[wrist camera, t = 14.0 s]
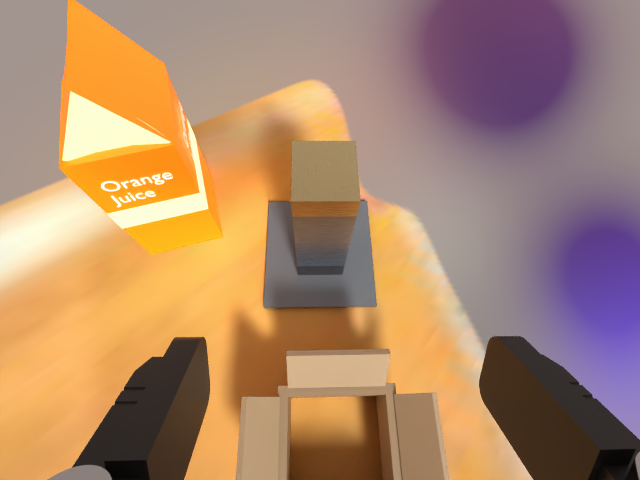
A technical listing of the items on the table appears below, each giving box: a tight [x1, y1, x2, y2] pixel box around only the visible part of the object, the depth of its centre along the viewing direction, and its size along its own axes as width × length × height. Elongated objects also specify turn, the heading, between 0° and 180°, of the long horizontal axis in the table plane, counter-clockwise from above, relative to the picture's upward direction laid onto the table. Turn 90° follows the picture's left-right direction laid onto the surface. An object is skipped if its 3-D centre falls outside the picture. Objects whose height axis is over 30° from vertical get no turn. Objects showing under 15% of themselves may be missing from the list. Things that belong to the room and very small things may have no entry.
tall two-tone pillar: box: [291, 141, 360, 275], centre depth 30 cm, size 4×5×14 cm
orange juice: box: [59, 0, 223, 255], centre depth 29 cm, size 8×9×20 cm
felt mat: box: [264, 201, 377, 308], centre depth 36 cm, size 11×12×1 cm
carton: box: [236, 349, 449, 480], centre depth 25 cm, size 14×14×8 cm
